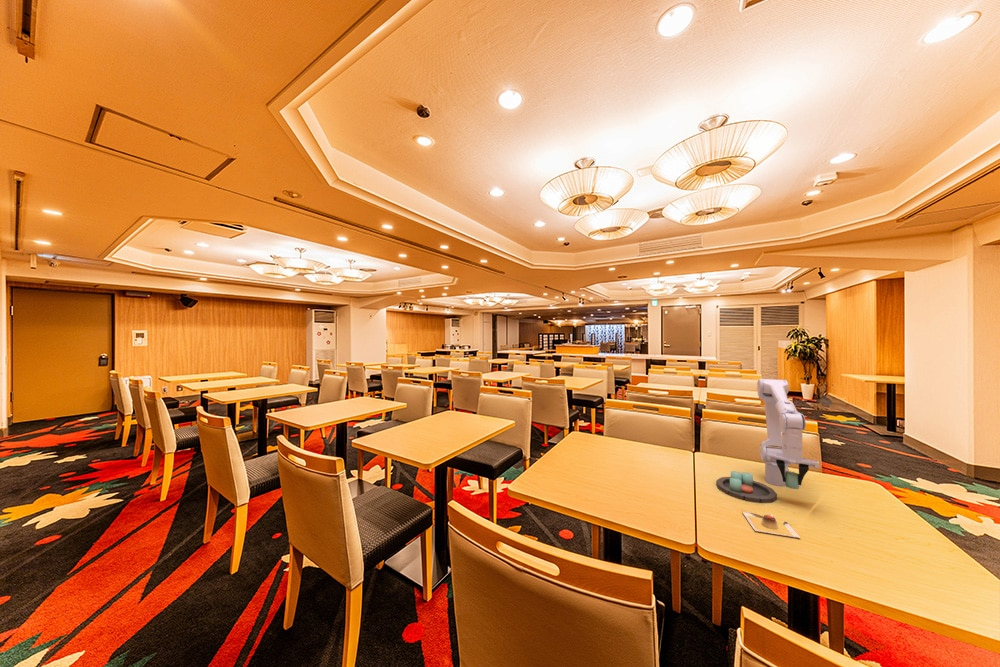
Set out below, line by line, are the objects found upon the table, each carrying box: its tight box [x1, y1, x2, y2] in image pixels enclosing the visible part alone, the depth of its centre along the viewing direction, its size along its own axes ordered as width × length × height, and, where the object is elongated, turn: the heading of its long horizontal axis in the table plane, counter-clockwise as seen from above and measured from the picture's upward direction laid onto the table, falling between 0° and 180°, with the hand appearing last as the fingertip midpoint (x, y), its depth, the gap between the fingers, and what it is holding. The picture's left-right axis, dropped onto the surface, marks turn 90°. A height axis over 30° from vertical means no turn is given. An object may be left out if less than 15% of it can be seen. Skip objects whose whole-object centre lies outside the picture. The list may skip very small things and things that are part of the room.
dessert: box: [742, 511, 801, 539], centre depth 113 cm, size 12×12×5 cm
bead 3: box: [784, 470, 800, 490], centre depth 127 cm, size 4×4×5 cm
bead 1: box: [730, 470, 742, 484], centre depth 141 cm, size 4×4×5 cm
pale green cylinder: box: [741, 472, 754, 488], centre depth 140 cm, size 4×4×5 cm
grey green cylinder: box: [730, 478, 741, 493], centre depth 134 cm, size 4×4×5 cm
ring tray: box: [715, 476, 778, 504], centre depth 136 cm, size 19×19×2 cm
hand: (791, 482), depth 127 cm, fingers closed on bead 3, 4 cm apart
